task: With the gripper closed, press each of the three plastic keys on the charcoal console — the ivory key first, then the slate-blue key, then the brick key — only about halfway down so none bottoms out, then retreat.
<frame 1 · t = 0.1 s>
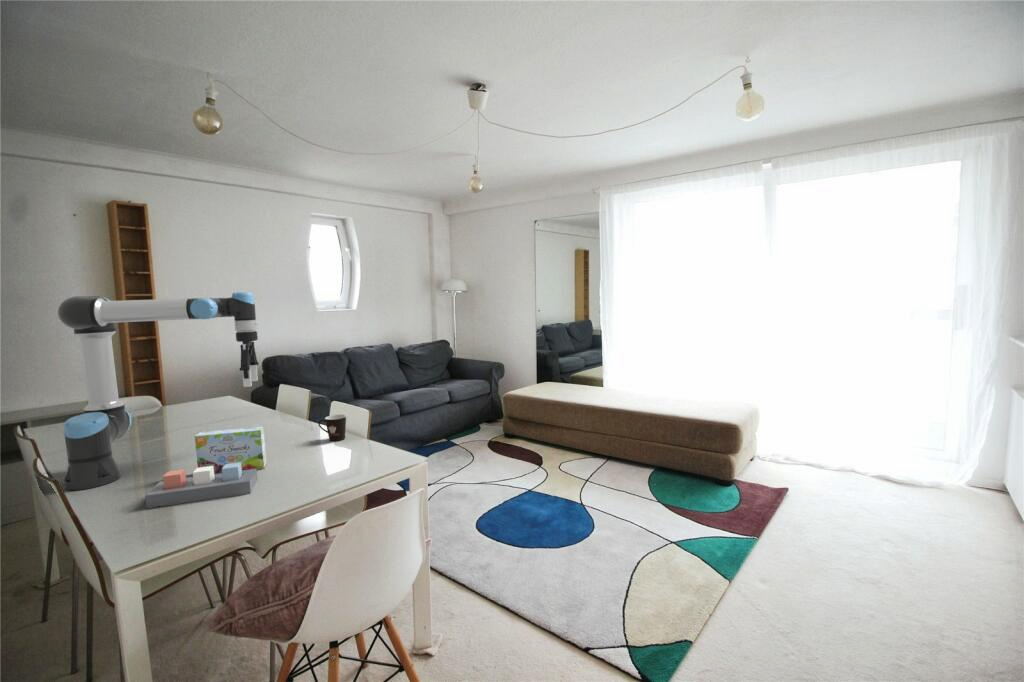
hand: (251, 383, 194), 28 cm above the table, fingers open, 13 cm apart
snack box: (233, 471, 175), on the table
coffee mug: (335, 439, 211), on the table
slate key: (232, 472, 157), point 6 cm above the table, slide at 0.0 cm
ivory key: (203, 475, 155), point 6 cm above the table, slide at 0.0 cm
brick key: (174, 479, 152), point 6 cm above the table, slide at 0.0 cm
console: (205, 493, 155), on the table
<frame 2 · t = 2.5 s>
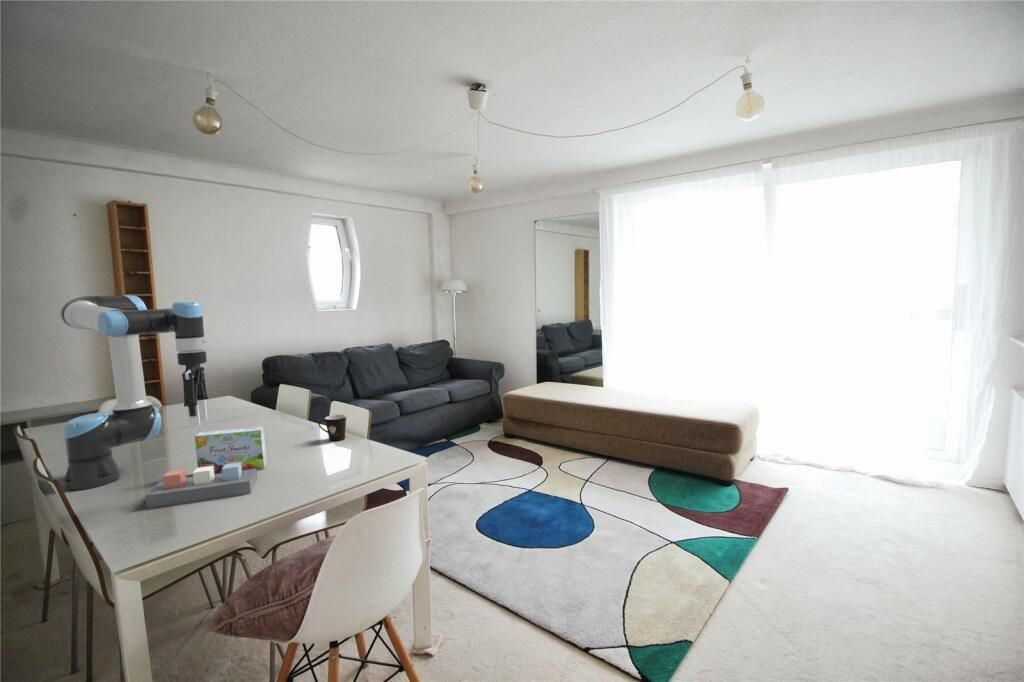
hand: (198, 423, 153), 23 cm above the table, fingers open, 7 cm apart
nothing on the table moved.
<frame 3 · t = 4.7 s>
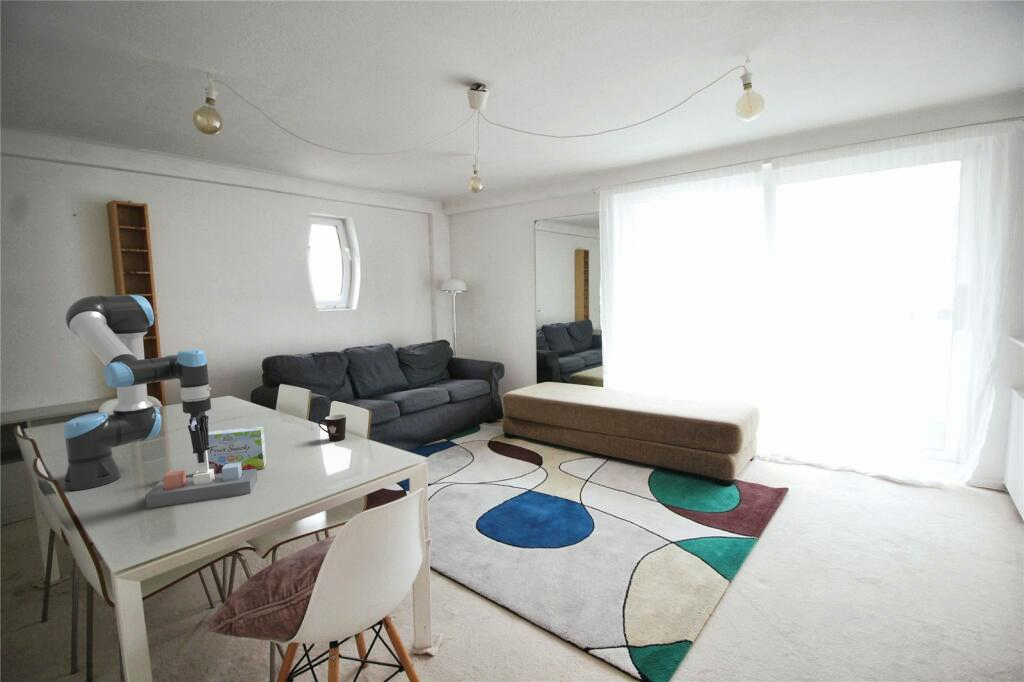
hand: (203, 471, 154), 7 cm above the table, fingers closed
ivory key: (204, 478, 155), point 5 cm above the table, slide at 1.0 cm, touching gripper
everything else where it was.
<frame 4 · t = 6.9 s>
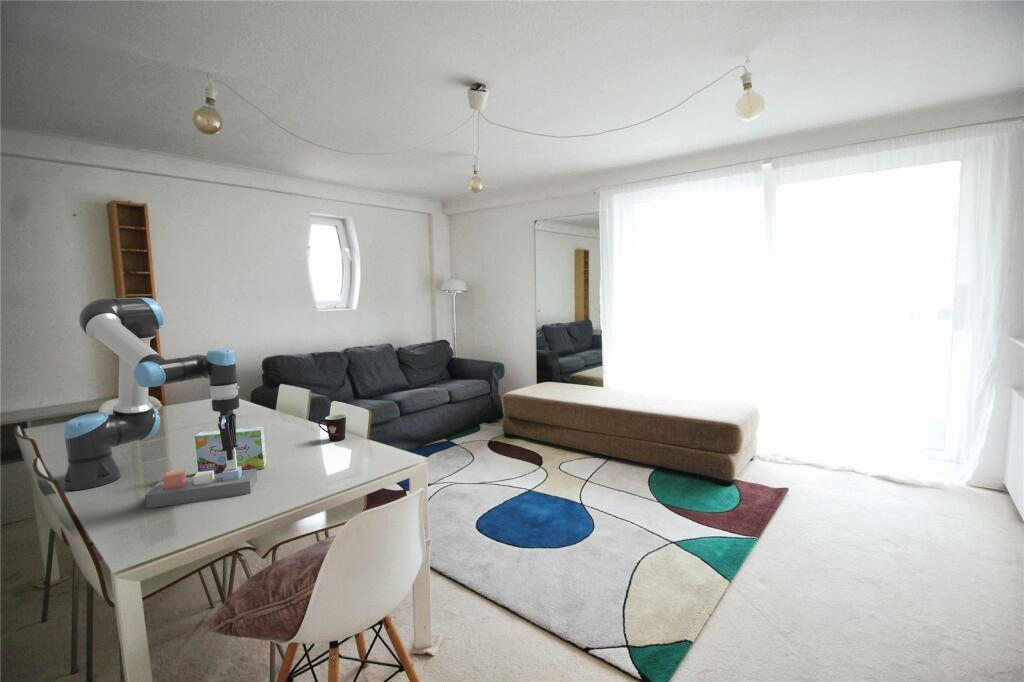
hand: (232, 468, 157), 7 cm above the table, fingers closed
slate key: (232, 475, 157), point 5 cm above the table, slide at 1.3 cm, touching gripper
ivory key: (204, 480, 155), point 4 cm above the table, slide at 1.5 cm
everything else where it was.
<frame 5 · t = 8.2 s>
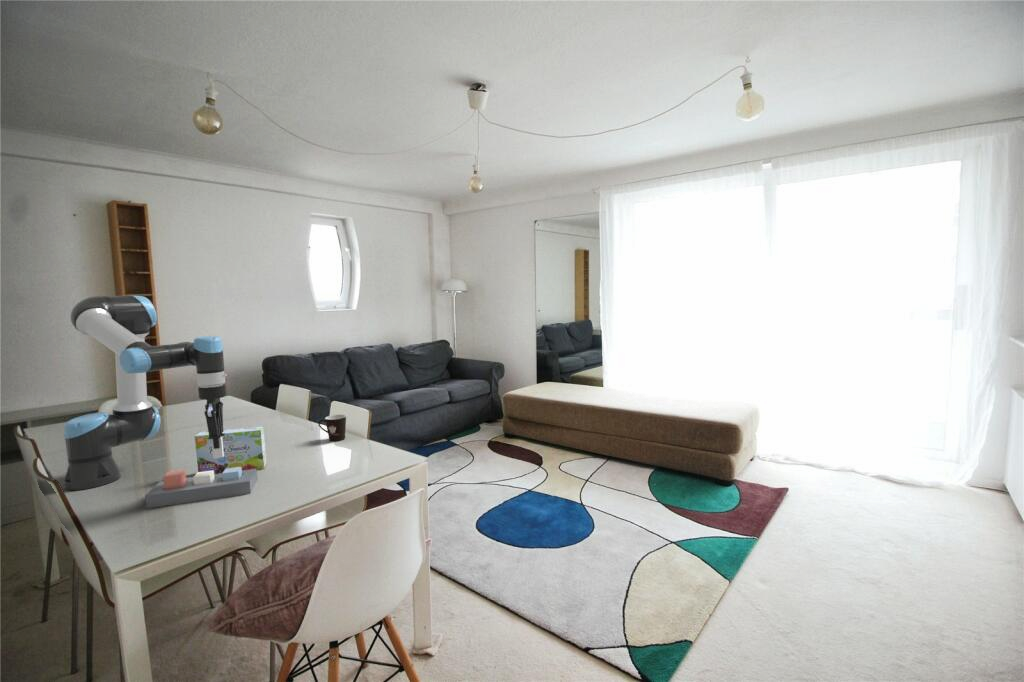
hand: (218, 457, 156), 11 cm above the table, fingers closed
slate key: (232, 476, 157), point 4 cm above the table, slide at 1.5 cm
everything else where it was.
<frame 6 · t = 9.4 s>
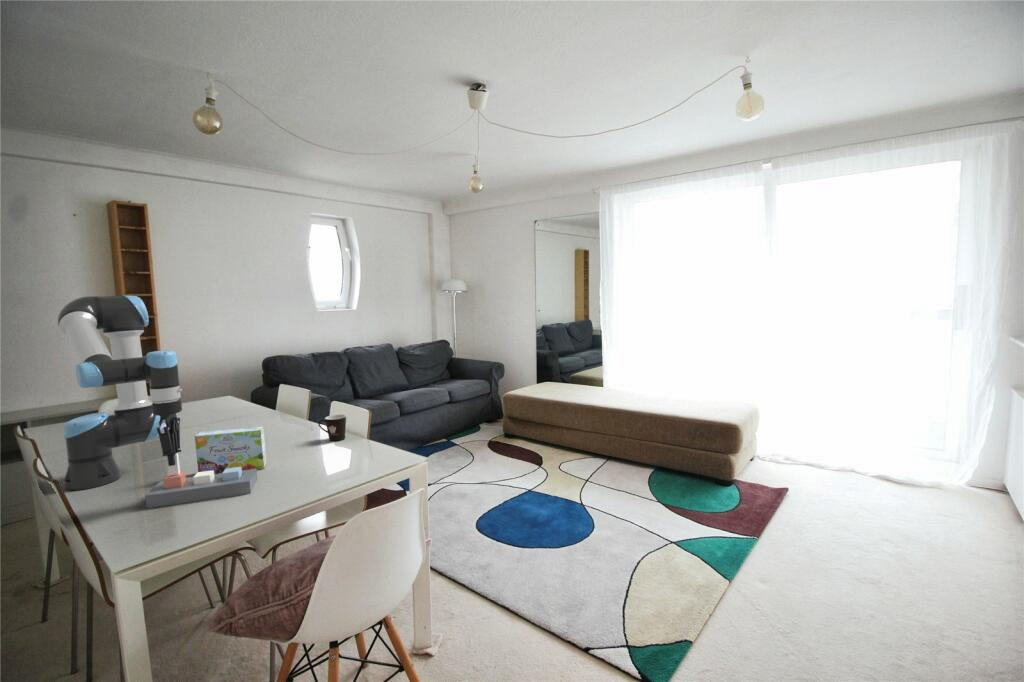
hand: (174, 474, 152), 8 cm above the table, fingers closed
brick key: (175, 481, 152), point 5 cm above the table, slide at 0.7 cm, touching gripper
everything else where it was.
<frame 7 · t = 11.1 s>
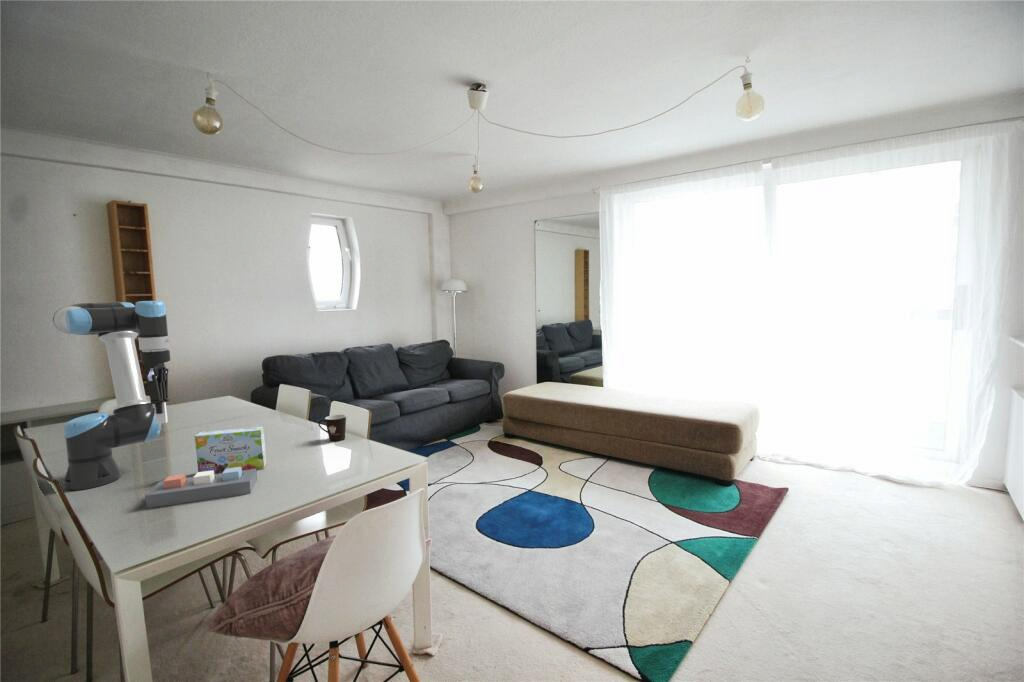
hand: (161, 422, 155), 23 cm above the table, fingers closed
brick key: (175, 484, 152), point 4 cm above the table, slide at 1.5 cm
everything else where it was.
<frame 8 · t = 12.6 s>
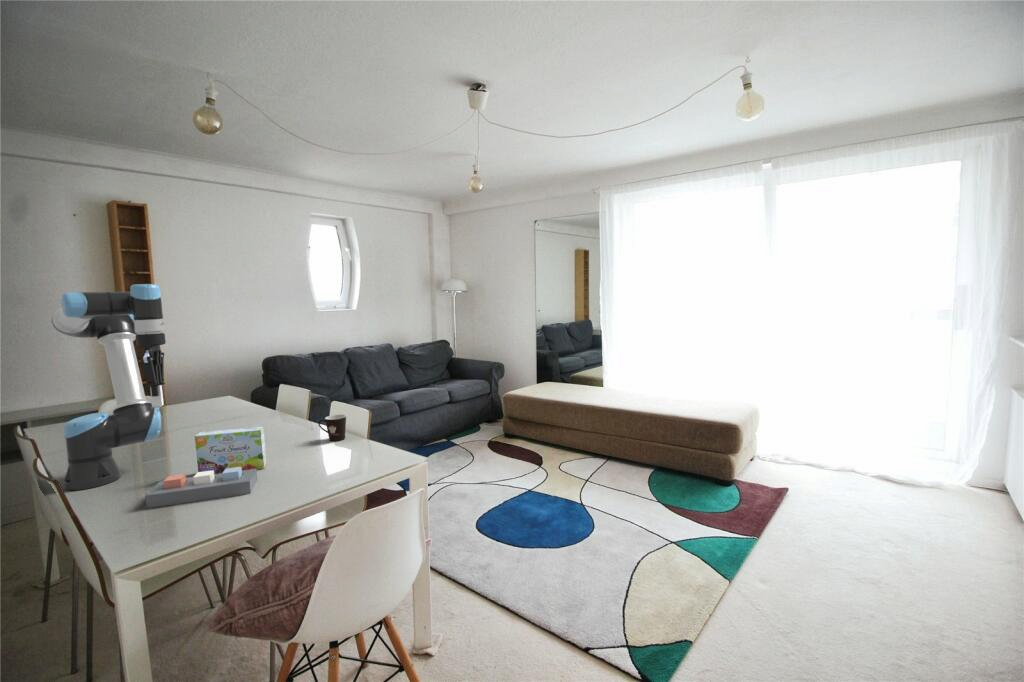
hand: (157, 405, 156), 28 cm above the table, fingers closed
nothing on the table moved.
at the end: ivory key slide at 1.5 cm; slate key slide at 1.5 cm; brick key slide at 1.5 cm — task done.
